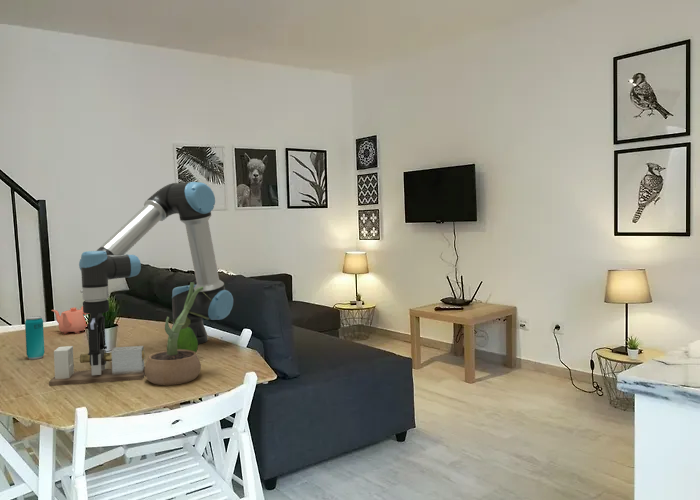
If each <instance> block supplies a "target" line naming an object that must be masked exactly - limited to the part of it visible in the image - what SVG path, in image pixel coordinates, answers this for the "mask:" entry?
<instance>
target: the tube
mask: <svg viewBox="0 0 700 500" xmlns="http://www.w3.org/2000/svg"><path fill="white" fill-rule="evenodd" d="M106 351H107V349H100V354H101V365H105V366H106V363H107V362H112V352H111V351H110V352H108V351H107V352H106ZM142 359H144V360H145V359H146V352H145V349H144V350H142ZM79 362H80V364H85V363H89V365H90V366H91V355H88V353H81V354H80V356H79Z"/></svg>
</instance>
